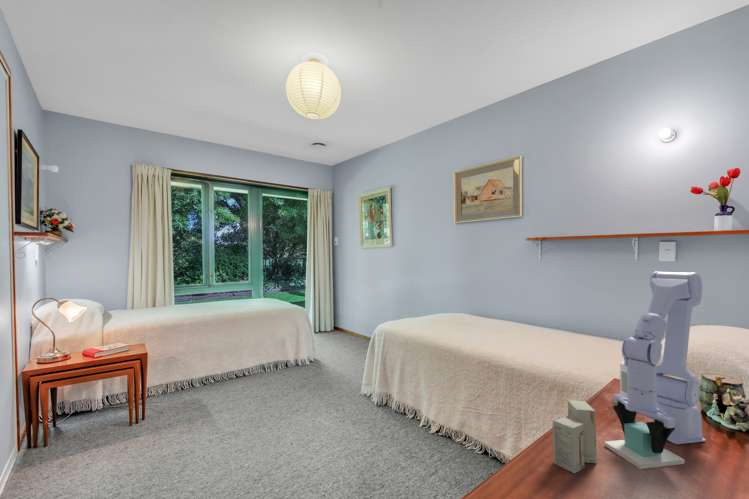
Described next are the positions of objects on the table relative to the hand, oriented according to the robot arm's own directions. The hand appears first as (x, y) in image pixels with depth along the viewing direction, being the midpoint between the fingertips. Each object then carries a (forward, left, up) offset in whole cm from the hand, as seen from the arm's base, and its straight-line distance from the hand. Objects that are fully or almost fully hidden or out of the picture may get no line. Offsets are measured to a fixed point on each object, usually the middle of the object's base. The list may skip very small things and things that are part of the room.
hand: (642, 443), depth 86 cm
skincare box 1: (+21, +1, -3) cm, 21 cm away
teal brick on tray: (0, 0, -2) cm, 2 cm away
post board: (0, 0, -3) cm, 3 cm away
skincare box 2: (+15, -2, -3) cm, 15 cm away
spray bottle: (-28, -30, -3) cm, 41 cm away
